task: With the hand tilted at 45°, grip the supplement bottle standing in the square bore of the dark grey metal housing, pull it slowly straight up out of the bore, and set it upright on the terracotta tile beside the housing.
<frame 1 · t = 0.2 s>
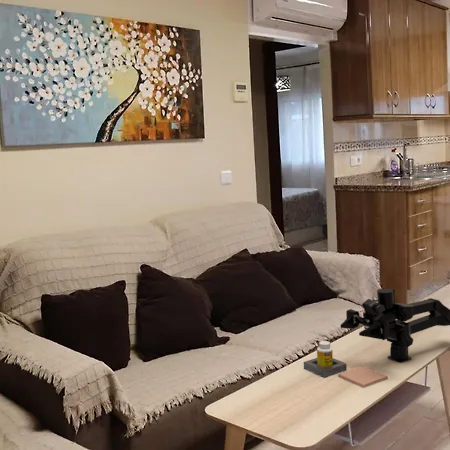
hand: (350, 330, 210), 16 cm above the table, tool horizontal, fingers open, 9 cm apart
housing: (325, 369, 218), on the table
supplement bottle: (325, 369, 218), resting in housing
tile: (362, 377, 209), on the table
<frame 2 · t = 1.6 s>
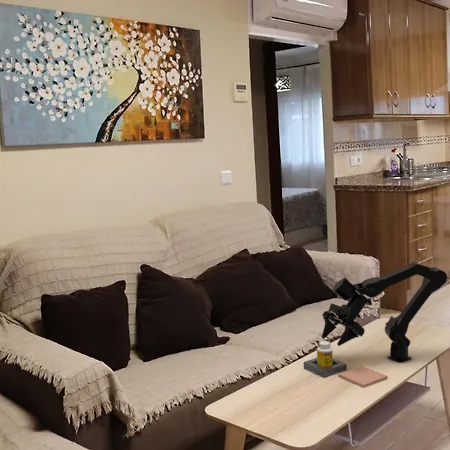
hand: (330, 341, 218), 10 cm above the table, tool tilted 45°, fingers open, 9 cm apart
nothing on the table moved.
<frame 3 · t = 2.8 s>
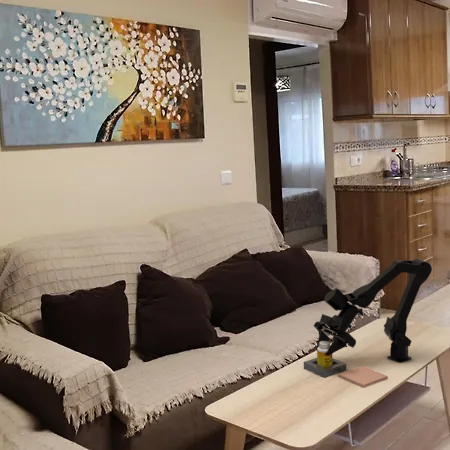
hand: (321, 352, 216), 7 cm above the table, tool tilted 45°, fingers closed on supplement bottle, 5 cm apart
supplement bottle: (325, 369, 218), resting in housing, touching gripper
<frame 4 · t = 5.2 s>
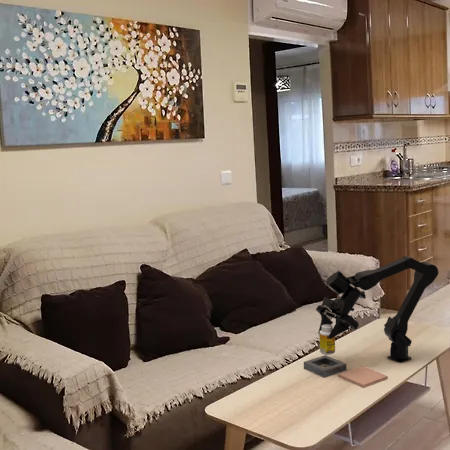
hand: (324, 336, 215), 13 cm above the table, tool tilted 45°, fingers closed on supplement bottle, 5 cm apart
supplement bottle: (327, 353, 216), point 6 cm above the table, touching gripper
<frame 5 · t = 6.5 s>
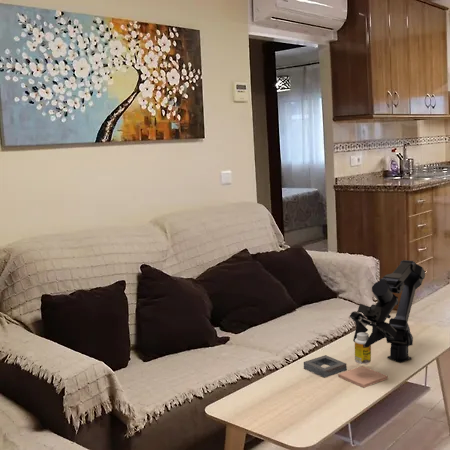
hand: (359, 344, 207), 13 cm above the table, tool tilted 45°, fingers closed on supplement bottle, 5 cm apart
supplement bottle: (362, 362, 208), point 6 cm above the table, touching gripper
when the fingers open (9 cm above the table, at t = 7.7 s): supplement bottle stays where it is, resting on tile.
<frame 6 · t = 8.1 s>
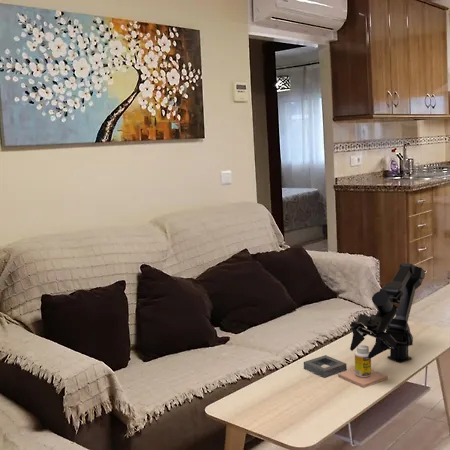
hand: (359, 354, 207), 9 cm above the table, tool tilted 45°, fingers open, 9 cm apart
supplement bottle: (362, 375, 209), point 1 cm above the table, touching tile
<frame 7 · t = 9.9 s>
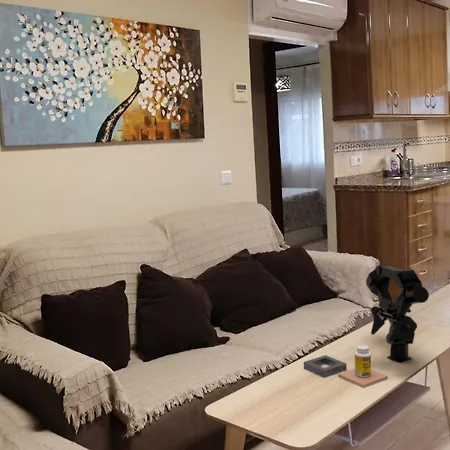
hand: (380, 337, 211), 13 cm above the table, tool tilted 45°, fingers open, 9 cm apart
nothing on the table moved.
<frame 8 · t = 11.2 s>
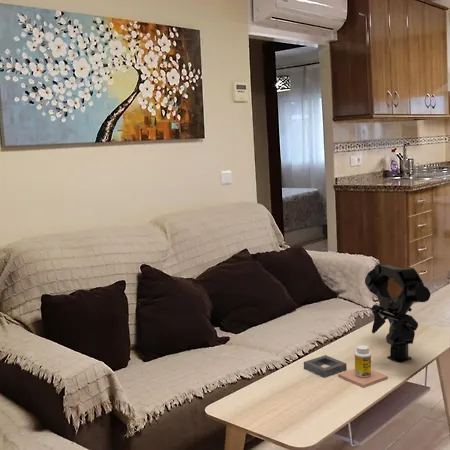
hand: (381, 336, 211), 14 cm above the table, tool tilted 45°, fingers open, 9 cm apart
nothing on the table moved.
at the end: supplement bottle inside the target area on the tile (0.1 cm from its centre), point 0.8 cm above the tile's base; supplement bottle tilted 0°; the gripper is holding nothing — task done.
